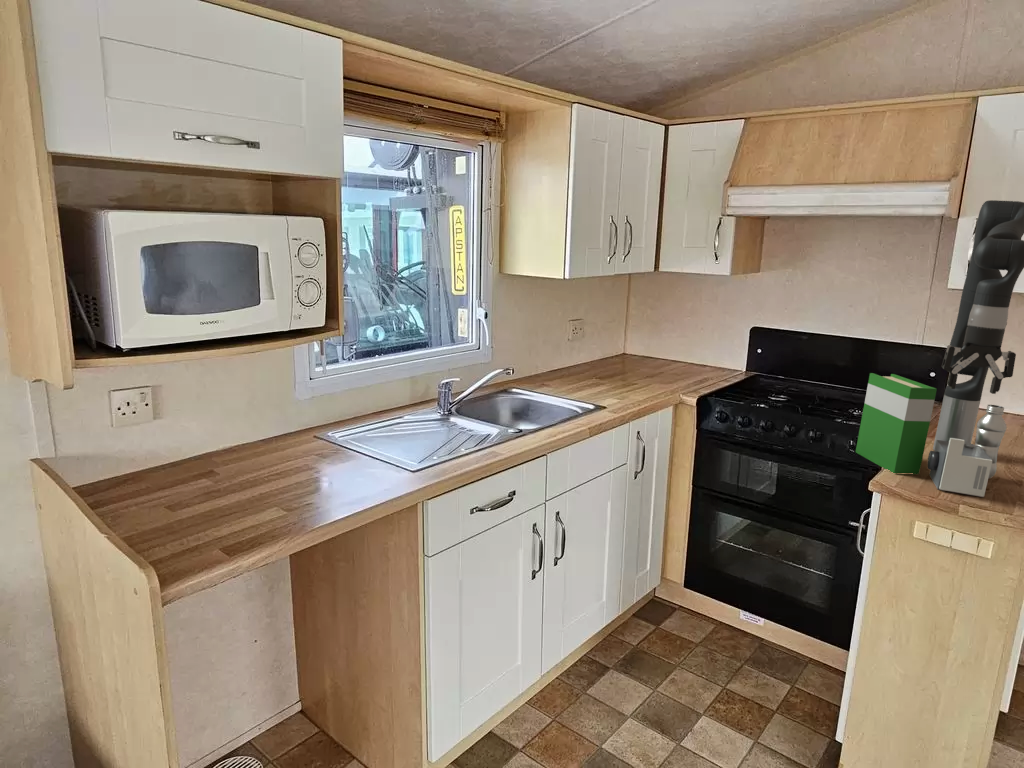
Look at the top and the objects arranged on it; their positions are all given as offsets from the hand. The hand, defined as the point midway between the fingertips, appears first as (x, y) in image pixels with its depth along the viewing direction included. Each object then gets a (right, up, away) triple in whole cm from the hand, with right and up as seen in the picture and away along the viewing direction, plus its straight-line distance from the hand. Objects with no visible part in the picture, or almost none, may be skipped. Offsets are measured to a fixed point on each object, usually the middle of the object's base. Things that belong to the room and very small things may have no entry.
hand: (971, 390), depth 167 cm
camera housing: (+4, -25, +13) cm, 28 cm away
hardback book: (-6, -21, +28) cm, 35 cm away
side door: (+2, -26, +6) cm, 27 cm away
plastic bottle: (+16, -24, +21) cm, 36 cm away
